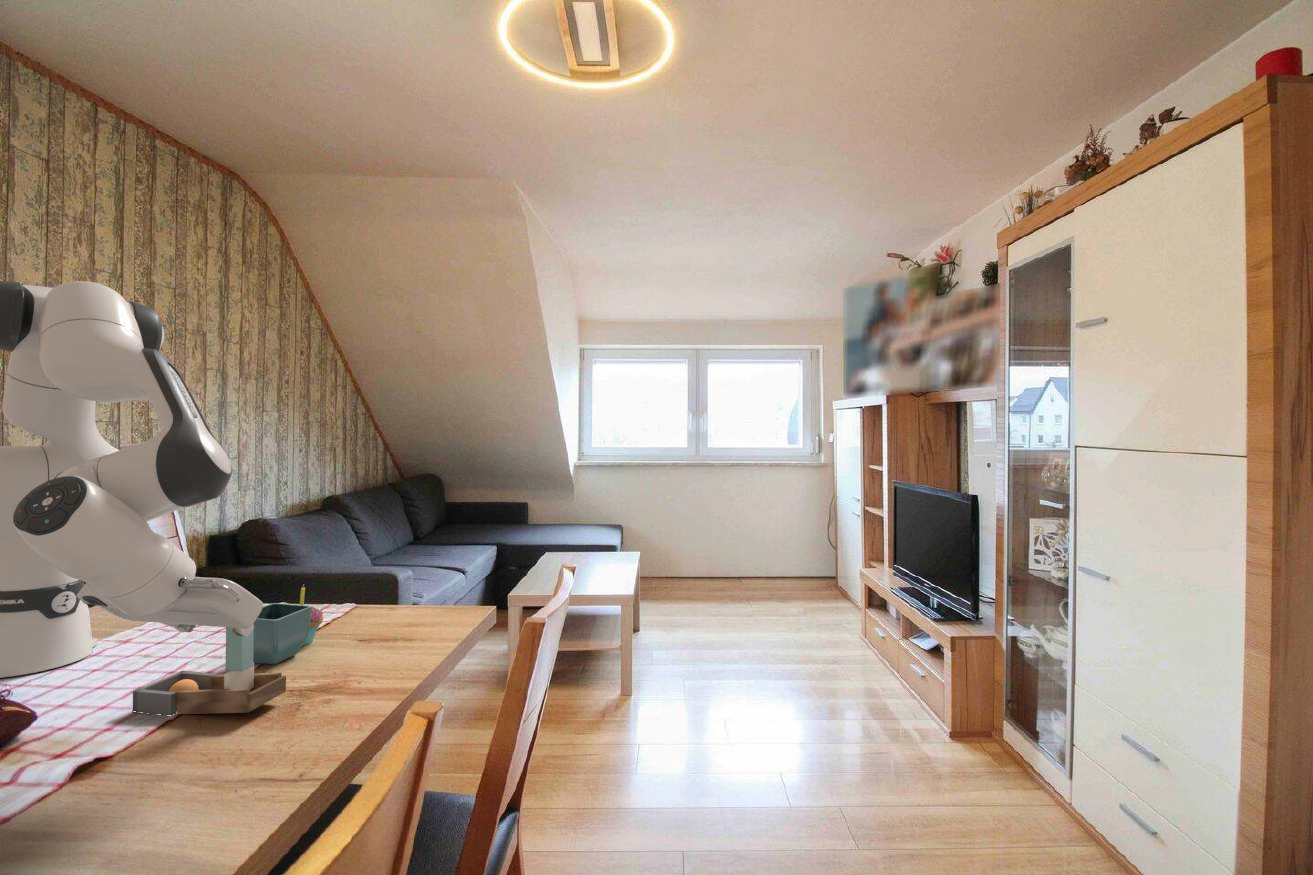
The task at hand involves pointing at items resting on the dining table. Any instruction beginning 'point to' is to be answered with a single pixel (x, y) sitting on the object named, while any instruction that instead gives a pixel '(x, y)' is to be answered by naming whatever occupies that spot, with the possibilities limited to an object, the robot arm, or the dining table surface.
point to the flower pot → (280, 632)
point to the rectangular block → (239, 661)
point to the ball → (184, 685)
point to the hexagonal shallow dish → (231, 695)
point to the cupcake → (311, 620)
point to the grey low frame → (166, 693)
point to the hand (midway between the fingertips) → (218, 629)
